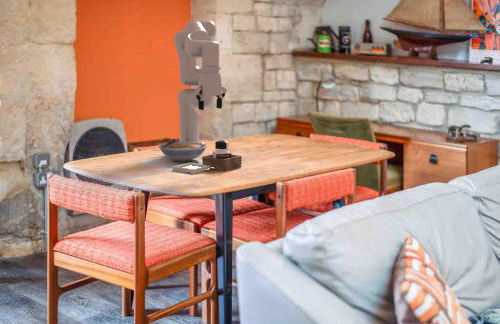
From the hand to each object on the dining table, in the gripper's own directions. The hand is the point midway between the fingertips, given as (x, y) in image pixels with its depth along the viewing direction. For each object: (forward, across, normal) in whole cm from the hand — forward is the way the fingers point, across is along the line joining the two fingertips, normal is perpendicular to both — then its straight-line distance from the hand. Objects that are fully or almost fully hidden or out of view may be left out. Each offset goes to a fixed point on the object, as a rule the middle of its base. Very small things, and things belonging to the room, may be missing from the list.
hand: (210, 108), depth 336 cm
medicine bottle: (+27, -6, +1) cm, 28 cm away
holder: (+27, -6, +1) cm, 27 cm away
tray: (+27, +9, -1) cm, 28 cm away
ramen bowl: (+27, -1, -23) cm, 35 cm away
